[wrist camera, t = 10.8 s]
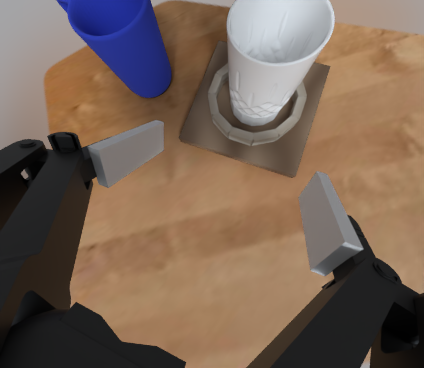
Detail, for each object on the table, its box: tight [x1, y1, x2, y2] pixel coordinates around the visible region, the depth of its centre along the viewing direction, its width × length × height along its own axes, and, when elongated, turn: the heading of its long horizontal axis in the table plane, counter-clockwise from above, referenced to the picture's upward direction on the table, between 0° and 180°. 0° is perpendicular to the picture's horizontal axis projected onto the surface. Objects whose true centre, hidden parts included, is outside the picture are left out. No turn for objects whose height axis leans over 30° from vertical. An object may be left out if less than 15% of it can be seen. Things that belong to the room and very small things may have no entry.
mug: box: [57, 0, 171, 98], centre depth 21 cm, size 8×12×10 cm
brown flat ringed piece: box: [179, 41, 330, 178], centre depth 22 cm, size 16×16×3 cm
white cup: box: [227, 0, 335, 126], centre depth 17 cm, size 8×8×10 cm
